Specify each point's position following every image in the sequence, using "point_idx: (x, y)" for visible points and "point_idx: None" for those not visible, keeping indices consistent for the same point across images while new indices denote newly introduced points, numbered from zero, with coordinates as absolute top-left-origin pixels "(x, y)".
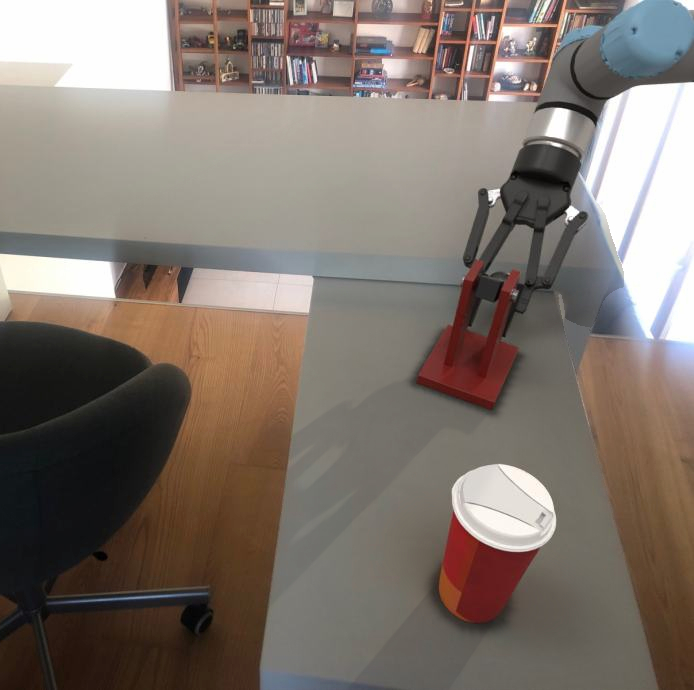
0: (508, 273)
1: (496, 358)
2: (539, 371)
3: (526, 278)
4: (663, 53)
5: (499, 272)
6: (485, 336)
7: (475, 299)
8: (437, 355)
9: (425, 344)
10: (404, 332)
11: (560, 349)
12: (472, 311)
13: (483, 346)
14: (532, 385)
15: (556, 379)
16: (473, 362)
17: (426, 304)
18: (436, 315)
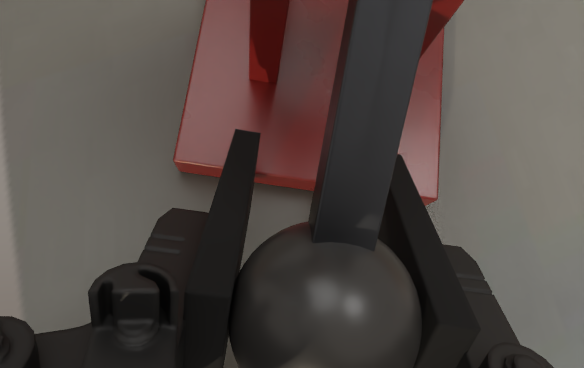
0: (314, 349)
1: (244, 75)
2: (100, 116)
3: (167, 343)
4: None
5: (381, 334)
6: (298, 177)
7: (414, 209)
8: None
9: (462, 122)
10: (538, 157)
11: (20, 262)
12: (394, 178)
13: (295, 121)
14: (122, 46)
15: (44, 96)
16: (312, 32)
17: (531, 346)
18: None
